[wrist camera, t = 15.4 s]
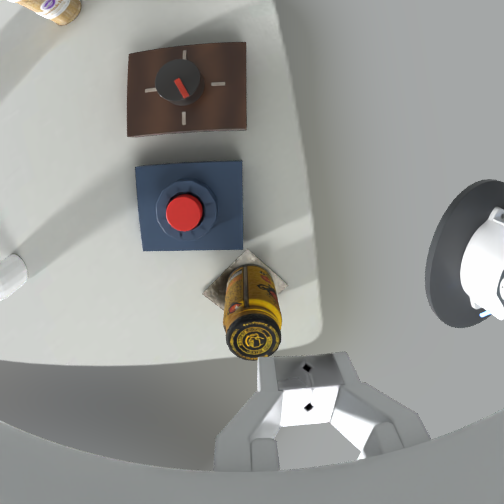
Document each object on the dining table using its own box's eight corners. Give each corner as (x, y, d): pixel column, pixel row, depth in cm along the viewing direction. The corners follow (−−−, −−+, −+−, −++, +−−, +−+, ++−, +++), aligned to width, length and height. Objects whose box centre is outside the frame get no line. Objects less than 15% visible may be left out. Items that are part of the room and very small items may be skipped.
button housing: (242, 160, 33) (241, 162, 29) (243, 243, 36) (243, 255, 33) (141, 165, 33) (129, 168, 29) (148, 245, 36) (138, 256, 32)
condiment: (288, 284, 38) (304, 340, 27) (242, 325, 40) (243, 386, 29) (247, 247, 37) (249, 294, 25) (202, 292, 39) (187, 349, 27)
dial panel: (245, 50, 28) (246, 41, 25) (246, 130, 32) (246, 128, 29) (137, 60, 28) (128, 53, 25) (136, 137, 32) (126, 136, 29)
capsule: (21, 252, 36) (-10, 272, 28) (31, 283, 38) (3, 307, 30) (2, 255, 36) (-27, 274, 28) (12, 285, 38) (-15, 307, 30)
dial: (157, 81, 27) (146, 73, 23) (193, 60, 26) (187, 50, 23) (175, 113, 28) (166, 109, 25) (212, 92, 28) (207, 85, 24)
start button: (202, 193, 31) (199, 196, 29) (203, 226, 32) (201, 230, 30) (168, 194, 31) (164, 197, 29) (171, 227, 32) (167, 231, 30)
